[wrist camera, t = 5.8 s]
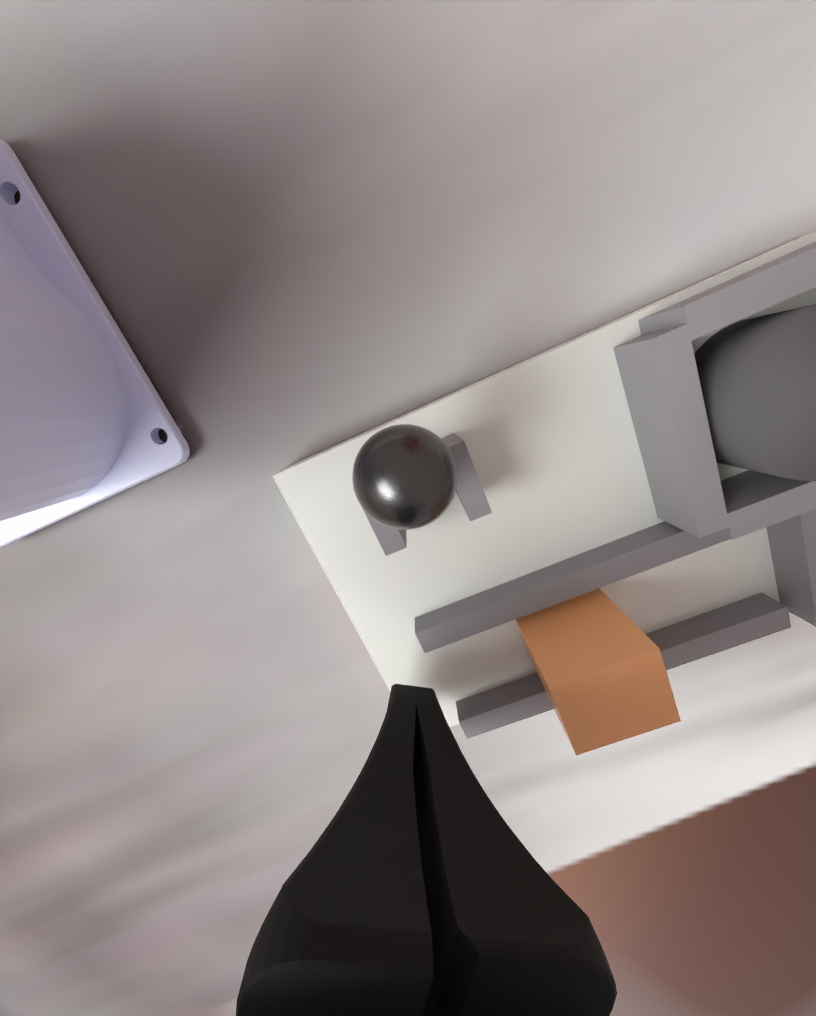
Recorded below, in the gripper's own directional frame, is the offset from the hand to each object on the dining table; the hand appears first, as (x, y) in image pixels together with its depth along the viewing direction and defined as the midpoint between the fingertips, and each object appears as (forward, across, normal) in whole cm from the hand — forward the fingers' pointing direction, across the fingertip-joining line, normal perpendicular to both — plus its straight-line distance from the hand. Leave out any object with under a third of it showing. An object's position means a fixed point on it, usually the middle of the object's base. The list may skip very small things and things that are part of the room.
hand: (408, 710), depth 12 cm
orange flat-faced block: (+1, -5, -3) cm, 6 cm away
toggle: (0, +1, -7) cm, 7 cm away
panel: (+3, -5, -7) cm, 9 cm away
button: (+1, -8, -11) cm, 14 cm away
